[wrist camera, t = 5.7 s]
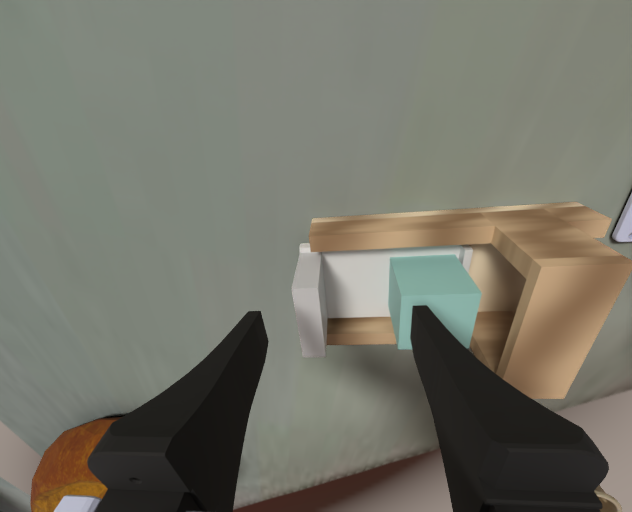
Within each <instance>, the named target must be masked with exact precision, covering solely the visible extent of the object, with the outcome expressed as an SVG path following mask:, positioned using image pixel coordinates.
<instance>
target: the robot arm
mask: <svg viewBox="0 0 632 512" xmlns="http://www.w3.org/2000/svg"><path fill="white" fill-rule="evenodd" d="M631 233H632V193H631V195H630V197H629V200H628V202H627V204H626V206H625V208H624V210H623V213H622V215H621V217H620V219H619V221H618V224H617V226H616V228H615V230H614V232H613V235H612V238H613V239H614V240H616V241H618V242H632V234H631ZM630 234H631V235H630ZM410 339H411V345H412V350H413V354H414V359H415V362H416V365H417V368H418V371H419V374H420V377H421V380H422V383H423V386H424V389H425V392H426V395H427V398H428V401H429V404H430V407H431V411H432V414H433V418H434V423H435V427H436V431H437V436H438V440H439V444H440V449H441V453H442V458H443V463H444V467H445V473H446V477H447V482H448V487H449V492H450V497H451V503H452V508H453V512H601V511H600V510H599V509H602V508H603V506H602V503H601V501H600V500H599V498H598V496H597V495H596V493H595V492H594V491H595V489H596V488H597V487H598V486H599V484H600V483H601V482H602V481H603V479H604V478H605V477H606V475H607V473H608V470H609V466H608V462H607V461H606V459H605V458H604V456H603V455H602V454H601V452H600V451H599V449H598V448H597V447H596V445H595V444H594V442H593V441H592V440H591V439H590V437H589V436H588V435H587V434H586V433H585V431H584V430H583V429H582V428H581V427H579V426H577V425H575V424H574V423H572V422H570V421H568V420H567V419H565V418H563V417H561V416H559V415H558V414H556V413H554V412H552V411H550V410H549V409H547V408H545V407H544V406H542V405H541V404H539V403H537V402H536V401H534V400H533V399H531V398H529V397H528V396H526V395H525V394H523V393H522V392H520V391H519V390H517V389H516V388H515V387H513V386H512V385H510V384H509V383H508V382H506V381H505V380H503V379H502V378H501V377H499V376H498V375H497V374H495V373H494V372H493V371H492V370H490V369H489V368H488V367H487V366H485V365H484V364H483V363H482V362H481V361H480V360H478V359H477V358H476V357H475V356H474V355H473V354H472V353H471V352H470V351H469V350H468V349H466V348H465V347H464V346H463V345H462V344H461V343H460V342H459V341H458V340H457V339H456V338H455V336H454V335H453V334H452V333H451V332H450V331H449V330H448V329H447V328H446V327H445V326H444V325H443V324H442V322H441V321H440V320H439V319H438V318H437V317H436V315H435V314H434V313H433V312H432V311H431V309H430V308H429V307H428V306H427V305H418V306H413V308H412V321H411V334H410ZM267 347H268V338H267V334H266V330H265V326H264V323H263V319H262V315H261V311H248V313H247V314H246V315H245V316H244V317H243V318H242V319H241V320H240V321H239V323H238V324H237V325H236V326H235V327H234V328H233V329H232V331H231V332H230V333H229V334H228V335H227V336H226V337H225V338H224V339H223V340H222V342H221V343H220V344H219V345H218V346H217V347H216V348H215V349H214V350H213V351H212V352H211V353H210V354H209V355H208V356H207V357H206V358H205V359H204V360H203V361H201V362H200V363H199V364H198V365H197V366H196V367H195V368H193V369H192V370H191V371H190V372H189V373H187V374H186V375H185V376H184V377H182V378H181V379H180V380H178V381H177V382H176V383H174V384H173V385H172V386H170V387H169V388H168V389H166V390H165V391H164V392H162V393H161V394H159V395H158V396H156V397H155V398H153V399H152V400H150V401H149V402H147V403H145V404H144V405H142V406H141V407H139V408H137V409H136V410H134V411H132V412H130V413H129V414H127V415H125V416H123V417H122V418H120V419H118V420H116V421H114V422H113V423H112V424H111V425H110V426H109V428H108V429H107V431H106V432H105V434H104V435H103V437H102V438H101V440H100V441H99V443H98V444H97V445H96V447H95V448H94V450H93V451H92V453H91V454H90V456H89V457H88V460H87V464H88V468H89V470H90V471H91V472H92V473H93V474H94V475H95V476H96V477H97V478H98V479H99V480H100V481H101V482H102V483H103V484H104V485H105V486H106V488H107V489H108V490H107V492H106V493H105V495H104V497H103V498H102V499H101V498H98V497H95V496H83V495H66V496H64V497H63V498H62V500H61V501H60V503H59V504H58V506H57V507H56V509H55V510H54V512H233V505H234V498H235V491H236V484H237V478H238V471H239V465H240V459H241V454H242V448H243V443H244V437H245V432H246V427H247V422H248V418H249V413H250V409H251V406H252V402H253V399H254V396H255V392H256V389H257V386H258V383H259V379H260V376H261V373H262V370H263V366H264V363H265V358H266V353H267Z"/></svg>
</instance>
